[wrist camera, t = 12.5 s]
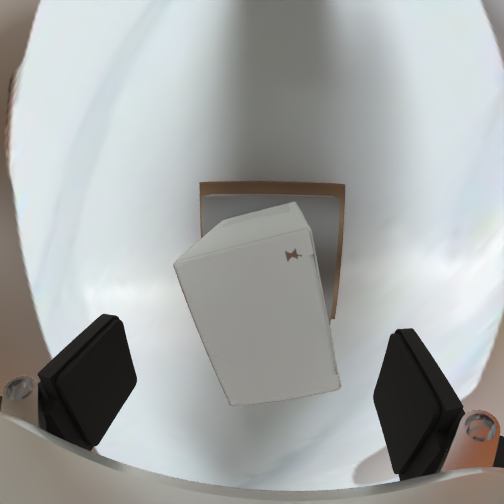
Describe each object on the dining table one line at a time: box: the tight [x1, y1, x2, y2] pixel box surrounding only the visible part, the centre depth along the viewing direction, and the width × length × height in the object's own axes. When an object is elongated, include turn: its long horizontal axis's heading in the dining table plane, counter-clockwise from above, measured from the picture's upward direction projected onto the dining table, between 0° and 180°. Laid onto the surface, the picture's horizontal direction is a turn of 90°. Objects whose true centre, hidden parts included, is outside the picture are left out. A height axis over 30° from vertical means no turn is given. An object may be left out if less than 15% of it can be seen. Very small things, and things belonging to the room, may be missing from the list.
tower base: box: [200, 181, 345, 325], centre depth 24 cm, size 12×12×6 cm
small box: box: [173, 202, 341, 406], centre depth 16 cm, size 8×6×10 cm
